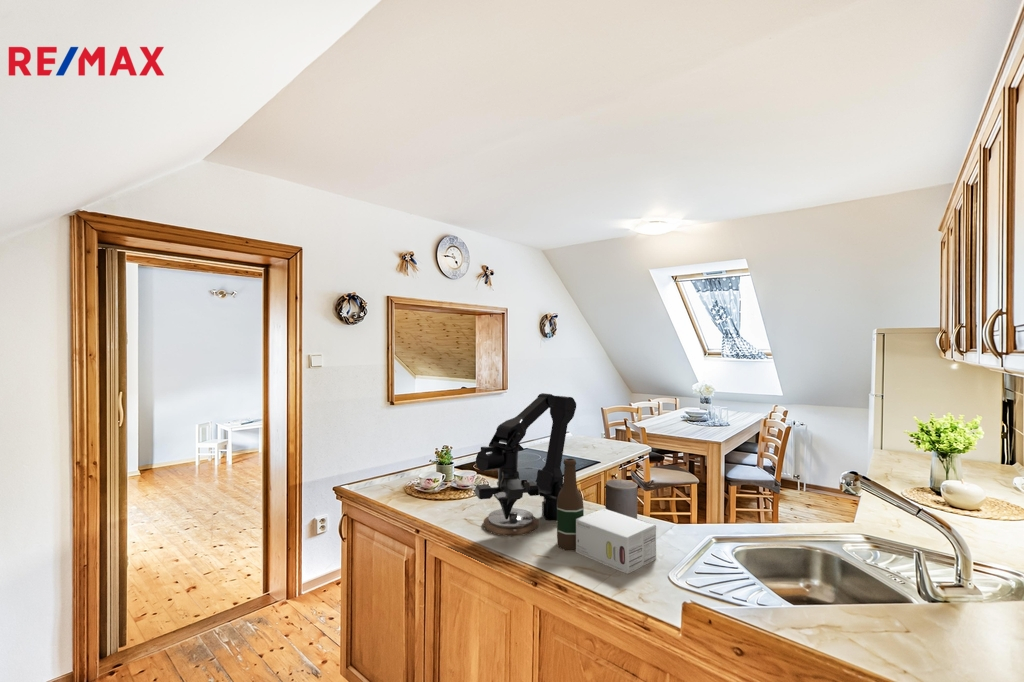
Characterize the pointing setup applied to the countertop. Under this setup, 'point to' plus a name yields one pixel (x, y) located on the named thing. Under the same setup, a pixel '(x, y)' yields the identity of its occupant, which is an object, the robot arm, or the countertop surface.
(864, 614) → the countertop surface
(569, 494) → the beer bottle
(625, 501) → the pillar candle
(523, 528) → the stand
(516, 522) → the dial
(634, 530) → the supplement box
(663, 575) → the countertop surface
